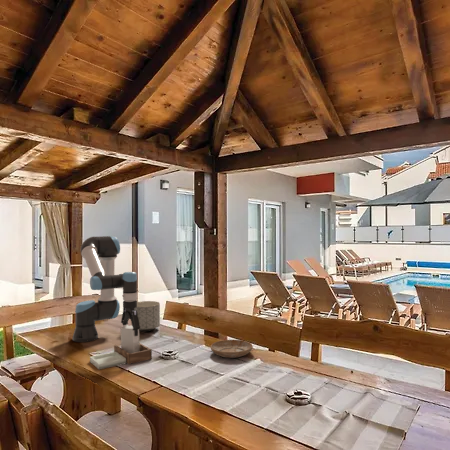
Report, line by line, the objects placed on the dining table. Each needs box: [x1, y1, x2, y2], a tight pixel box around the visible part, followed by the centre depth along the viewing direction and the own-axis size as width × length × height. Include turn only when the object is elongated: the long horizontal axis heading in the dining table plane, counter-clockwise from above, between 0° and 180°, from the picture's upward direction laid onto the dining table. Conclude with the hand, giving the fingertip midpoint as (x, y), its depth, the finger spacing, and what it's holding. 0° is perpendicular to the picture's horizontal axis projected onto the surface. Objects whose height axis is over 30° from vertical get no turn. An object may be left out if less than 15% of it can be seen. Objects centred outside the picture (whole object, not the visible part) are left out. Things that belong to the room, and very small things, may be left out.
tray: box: [89, 351, 127, 370], centre depth 197 cm, size 14×14×3 cm
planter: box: [134, 300, 161, 333], centre depth 260 cm, size 19×19×18 cm
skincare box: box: [120, 324, 141, 354], centre depth 209 cm, size 8×7×16 cm
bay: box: [113, 342, 153, 365], centre depth 207 cm, size 20×13×5 cm, turn 37°
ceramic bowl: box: [210, 339, 253, 359], centre depth 210 cm, size 23×24×5 cm
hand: (130, 339), depth 209 cm, fingers open, 13 cm apart
